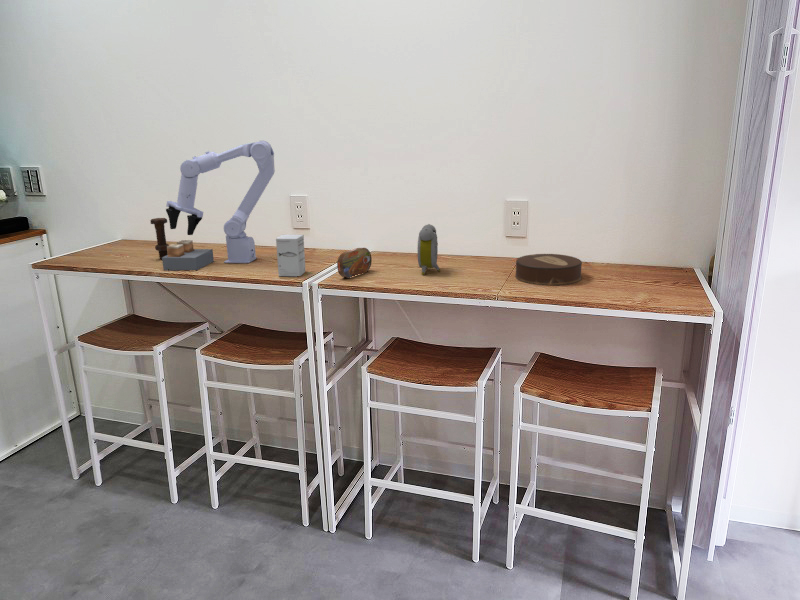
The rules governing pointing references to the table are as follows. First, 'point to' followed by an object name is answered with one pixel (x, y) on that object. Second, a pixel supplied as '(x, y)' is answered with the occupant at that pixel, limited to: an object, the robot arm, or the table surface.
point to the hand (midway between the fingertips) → (181, 231)
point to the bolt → (160, 236)
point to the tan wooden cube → (187, 245)
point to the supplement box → (290, 255)
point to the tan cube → (175, 250)
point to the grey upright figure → (427, 248)
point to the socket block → (189, 260)
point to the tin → (354, 262)
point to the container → (548, 269)
